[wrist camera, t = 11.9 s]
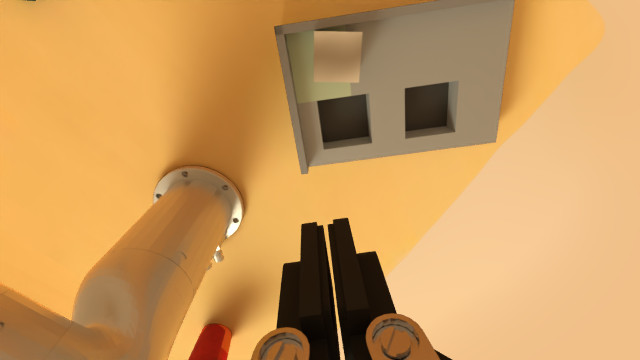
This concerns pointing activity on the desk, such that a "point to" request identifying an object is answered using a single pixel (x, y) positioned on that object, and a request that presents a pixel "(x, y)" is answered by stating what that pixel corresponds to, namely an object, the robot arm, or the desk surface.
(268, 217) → the desk surface
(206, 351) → the paper cup
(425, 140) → the trap board
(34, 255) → the desk surface
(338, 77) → the block
